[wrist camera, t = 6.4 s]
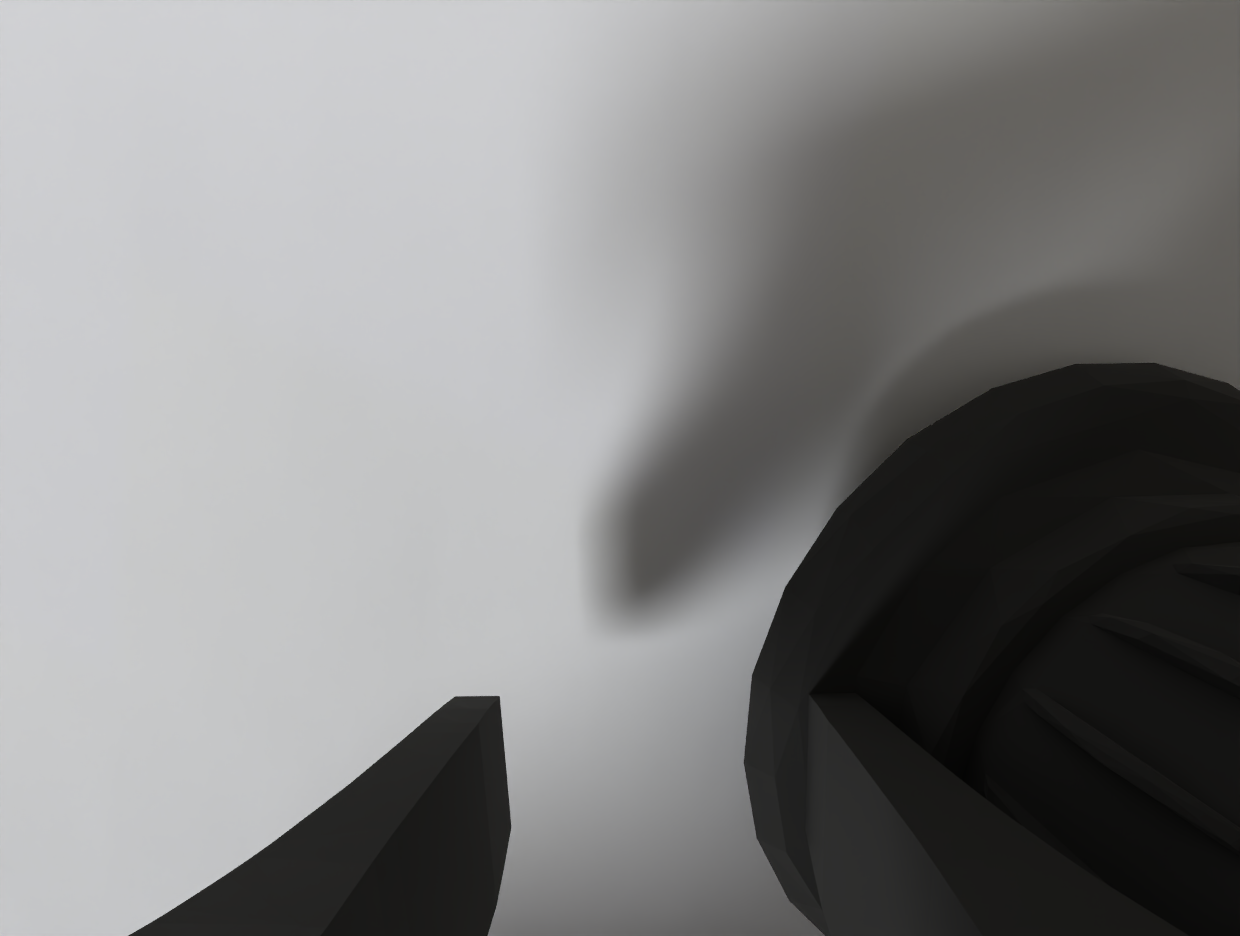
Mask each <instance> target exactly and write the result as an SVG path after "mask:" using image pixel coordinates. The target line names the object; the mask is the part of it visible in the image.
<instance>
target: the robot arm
mask: <svg viewBox="0 0 1240 936" xmlns="http://www.w3.org/2000/svg"><path fill="white" fill-rule="evenodd" d="M510 831H511V819H510V807H509V796H508V785H507V774H506V763H505V751H504V740H503V729H502V718H501V707H500V696H461V697H454V698H453V699H451V700H450V701H449V702H447V703H446V704H445V705H443V706H442V707H441V708H440V709H439V710H437V711H436V712H435V713H434V714H433V715H431V716H430V717H429V718H428V719H427V720H425V721H424V722H423V723H422V724H421V725H420V726H418V727H417V728H416V729H415V730H414V731H413V732H411V733H410V734H409V735H408V736H407V737H405V738H404V739H403V740H402V741H401V742H400V743H398V744H397V745H396V746H395V747H394V748H392V749H391V750H390V751H389V752H388V753H386V754H385V755H384V756H383V757H382V758H380V759H379V760H378V761H377V762H376V763H374V764H373V765H372V766H371V767H370V768H368V769H367V770H366V771H365V772H364V773H362V774H361V775H360V776H359V777H357V778H356V779H355V780H354V781H353V782H351V783H350V784H349V785H348V786H346V787H345V788H344V789H343V790H341V791H340V792H339V793H337V794H336V795H335V796H333V797H332V798H331V799H329V800H328V801H327V802H326V803H324V804H323V805H322V806H320V807H319V808H318V809H316V810H315V811H314V812H312V813H311V814H310V815H308V816H307V817H306V818H304V819H303V820H302V821H300V822H299V823H298V824H297V825H295V826H294V827H293V828H291V829H290V830H289V831H287V832H286V833H285V834H283V835H282V836H281V837H279V838H278V839H277V840H275V841H274V842H273V843H271V844H270V845H269V846H267V847H266V848H264V849H263V850H262V851H260V852H259V853H257V854H256V855H254V856H253V857H252V858H250V859H249V860H247V861H246V862H244V863H243V864H241V865H240V866H238V867H237V868H235V869H234V870H233V871H231V872H230V873H228V874H227V875H225V876H224V877H222V878H221V879H219V880H217V881H216V882H214V883H213V884H211V885H210V886H208V887H207V888H205V889H203V890H202V891H200V892H199V893H197V894H196V895H194V896H193V897H191V898H190V899H188V900H186V901H185V902H183V903H182V904H180V905H179V906H177V907H176V908H174V909H172V910H171V911H169V912H168V913H166V914H164V915H163V916H161V917H159V918H158V919H156V920H155V921H153V922H151V923H150V924H148V925H146V926H144V927H143V928H141V929H139V930H137V931H136V932H134V933H132V934H130V935H129V936H487V935H488V932H489V929H490V925H491V922H492V919H493V915H494V912H495V909H496V905H497V900H498V895H499V890H500V885H501V880H502V875H503V870H504V864H505V859H506V853H507V848H508V842H509V837H510ZM805 831H806V836H807V841H808V846H809V851H810V856H811V860H812V865H813V870H814V875H815V879H816V884H817V888H818V893H819V897H820V902H821V906H822V910H823V913H824V916H825V919H826V923H827V926H828V929H829V932H830V935H831V936H1189V935H1187V934H1186V933H1184V932H1182V931H1181V930H1179V929H1177V928H1176V927H1174V926H1172V925H1171V924H1169V923H1168V922H1166V921H1165V920H1163V919H1161V918H1160V917H1158V916H1157V915H1155V914H1153V913H1152V912H1150V911H1149V910H1147V909H1145V908H1144V907H1142V906H1141V905H1139V904H1137V903H1136V902H1134V901H1133V900H1131V899H1129V898H1128V897H1126V896H1125V895H1123V894H1122V893H1120V892H1118V891H1117V890H1115V889H1114V888H1112V887H1110V886H1109V885H1107V884H1106V883H1104V882H1102V881H1101V880H1099V879H1098V878H1096V877H1095V876H1093V875H1092V874H1090V873H1089V872H1087V871H1086V870H1084V869H1083V868H1081V867H1080V866H1078V865H1077V864H1075V863H1074V862H1072V861H1071V860H1069V859H1068V858H1067V857H1065V856H1064V855H1062V854H1061V853H1059V852H1058V851H1057V850H1055V849H1054V848H1052V847H1051V846H1050V845H1048V844H1047V843H1045V842H1044V841H1043V840H1041V839H1040V838H1038V837H1037V836H1036V835H1034V834H1033V833H1031V832H1030V831H1029V830H1027V829H1026V828H1024V827H1023V826H1022V825H1020V824H1019V823H1017V822H1016V821H1015V820H1013V819H1012V818H1010V817H1009V816H1008V815H1006V814H1005V813H1004V812H1002V811H1001V810H1000V809H998V808H997V807H996V806H995V805H993V804H992V803H991V802H989V801H988V800H987V799H985V798H984V797H983V796H981V795H980V794H979V793H977V792H976V791H975V790H974V789H972V788H971V787H970V786H968V785H967V784H966V783H965V782H963V781H962V780H961V779H960V778H958V777H957V776H956V775H955V774H953V773H952V772H951V771H950V770H948V769H947V768H946V767H945V766H943V765H942V764H941V763H940V762H938V761H937V760H936V759H935V758H934V757H932V756H931V755H930V754H929V753H927V752H926V751H925V750H924V749H923V748H921V747H920V746H919V745H918V744H917V743H915V742H914V741H913V740H912V739H911V738H909V737H908V736H907V735H906V734H905V733H904V732H902V731H901V730H900V729H899V728H898V727H896V726H895V725H894V724H893V723H892V722H890V721H889V720H888V719H887V718H886V717H885V716H883V715H882V714H881V713H880V712H879V711H877V710H876V709H875V708H874V707H873V706H871V705H870V704H869V703H868V702H867V701H865V700H864V699H863V698H861V697H860V696H859V695H858V694H856V693H820V694H809V705H808V750H807V790H806V823H805Z"/></svg>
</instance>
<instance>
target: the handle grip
mask: <svg viewBox="0 0 1240 936" xmlns="http://www.w3.org/2000/svg"><path fill="white" fill-rule="evenodd" d="M820 693H856V694H858V695H859V696H860V697H861V698H863V699H864V700H865V701H867V702H868V703H869V704H870V705H871V706H873V707H874V708H875V709H876V710H877V711H879V712H880V713H881V714H882V715H883V716H885V717H886V718H887V719H888V720H889V721H890V722H892V723H893V724H894V725H895V726H896V727H898V728H899V729H900V730H901V731H902V732H904V733H905V734H906V735H907V736H908V737H909V738H911V739H912V740H913V741H914V742H915V743H917V744H918V745H919V746H920V747H921V748H923V749H924V750H925V751H926V752H927V753H929V754H930V755H931V756H932V757H934V758H935V759H936V760H937V761H938V762H940V763H941V764H942V765H943V766H945V767H946V768H947V769H948V770H950V771H951V772H952V773H953V774H955V775H956V776H957V777H958V778H960V779H961V780H962V781H963V782H965V783H966V784H967V785H968V786H970V787H971V788H972V789H974V790H975V791H976V792H977V793H979V794H980V795H981V796H983V797H984V798H985V799H987V800H988V801H989V802H991V803H992V804H993V805H995V806H996V807H997V808H998V809H1000V810H1001V811H1002V812H1004V813H1005V814H1006V815H1008V816H1009V817H1010V818H1012V819H1013V820H1015V821H1016V822H1017V823H1019V824H1020V825H1022V826H1023V827H1024V828H1026V829H1027V830H1029V831H1030V832H1031V833H1033V834H1034V835H1036V836H1037V837H1038V838H1040V839H1041V840H1043V841H1044V842H1045V843H1047V844H1048V845H1050V846H1051V847H1052V848H1054V849H1055V850H1057V851H1058V852H1059V853H1061V854H1062V855H1064V856H1065V857H1067V858H1068V859H1069V860H1071V861H1072V862H1074V863H1075V864H1077V865H1078V866H1080V867H1081V868H1083V869H1084V870H1086V871H1087V872H1089V873H1090V874H1092V875H1093V876H1095V877H1096V878H1098V879H1099V880H1101V881H1102V882H1104V883H1106V884H1107V885H1109V886H1110V887H1112V888H1114V889H1115V890H1117V891H1118V892H1120V893H1122V894H1123V895H1125V896H1126V897H1128V898H1129V899H1131V900H1133V901H1134V902H1136V903H1137V904H1139V905H1141V906H1142V907H1144V908H1145V909H1147V910H1149V911H1150V912H1152V913H1153V914H1155V915H1157V916H1158V917H1160V918H1161V919H1163V920H1165V921H1166V922H1168V923H1169V924H1171V925H1172V926H1174V927H1176V928H1177V929H1179V930H1181V931H1182V932H1184V933H1186V934H1187V935H1189V936H1240V391H1239V390H1237V389H1236V388H1234V387H1233V386H1231V385H1230V384H1228V383H1225V382H1221V381H1218V380H1214V379H1210V378H1207V377H1203V376H1199V375H1196V374H1192V373H1189V372H1185V371H1181V370H1178V369H1174V368H1170V367H1167V366H1163V365H1160V364H1156V363H1118V364H1074V365H1071V366H1067V367H1064V368H1061V369H1057V370H1054V371H1050V372H1047V373H1044V374H1040V375H1037V376H1033V377H1030V378H1027V379H1023V380H1020V381H1016V382H1013V383H1009V384H1006V385H1003V386H999V387H996V388H992V389H991V390H989V391H987V392H985V393H984V394H982V395H980V396H979V397H977V398H975V399H974V400H972V401H970V402H969V403H967V404H965V405H964V406H962V407H960V408H959V409H957V410H955V411H954V412H952V413H950V414H949V415H947V416H945V417H944V418H942V419H940V420H939V421H937V422H935V423H934V424H932V425H930V426H929V427H927V428H925V429H924V430H922V431H920V432H919V433H917V434H915V435H914V436H912V437H910V438H909V439H907V440H906V441H905V442H904V443H903V444H902V445H901V446H900V447H899V448H898V449H897V450H896V451H895V452H894V453H893V454H892V455H891V456H890V457H889V458H888V459H887V460H886V461H885V462H884V463H883V464H882V465H880V466H879V467H878V468H877V469H876V470H875V471H874V472H873V473H872V474H871V475H870V476H869V477H868V478H867V479H866V480H865V481H864V482H863V483H862V484H861V485H860V486H859V487H858V488H857V489H856V490H855V491H854V492H853V493H852V494H851V495H850V496H849V497H848V498H847V499H846V500H845V501H844V502H843V503H842V504H841V505H840V506H839V507H838V508H837V509H836V511H835V512H834V514H833V515H832V517H831V518H830V520H829V521H828V523H827V524H826V526H825V527H824V529H823V530H822V532H821V533H820V535H819V537H818V538H817V540H816V541H815V543H814V544H813V546H812V547H811V549H810V550H809V552H808V553H807V555H806V556H805V558H804V560H803V561H802V563H801V564H800V566H799V567H798V569H797V570H796V572H795V573H794V575H793V576H792V578H791V579H790V581H789V582H788V584H787V586H786V587H785V590H784V592H783V595H782V598H781V600H780V603H779V605H778V608H777V611H776V613H775V616H774V619H773V621H772V624H771V627H770V629H769V632H768V635H767V637H766V640H765V642H764V645H763V648H762V650H761V653H760V656H759V658H758V661H757V664H756V666H755V669H754V672H753V674H752V683H751V693H750V704H749V714H748V725H747V735H746V746H745V756H744V766H745V772H746V778H747V783H748V789H749V795H750V801H751V807H752V812H753V818H754V824H755V830H756V835H757V839H758V841H759V843H760V845H761V847H762V849H763V851H764V853H765V855H766V856H767V858H768V860H769V862H770V864H771V866H772V868H773V870H774V872H775V874H776V876H777V878H778V880H779V882H780V884H781V885H782V887H783V889H784V891H785V893H786V895H787V897H788V899H789V901H790V902H791V903H792V904H794V905H795V906H796V907H797V908H798V909H799V910H800V911H801V912H802V913H803V914H804V915H805V916H806V917H807V918H808V919H809V920H810V921H811V922H812V923H813V924H814V925H815V926H816V927H817V928H818V929H819V930H820V931H821V932H822V933H823V934H824V935H825V936H831V935H830V932H829V929H828V926H827V923H826V919H825V916H824V913H823V910H822V906H821V902H820V897H819V893H818V888H817V884H816V879H815V875H814V870H813V865H812V860H811V856H810V851H809V846H808V841H807V836H806V831H805V823H806V790H807V750H808V705H809V694H820Z"/></svg>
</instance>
